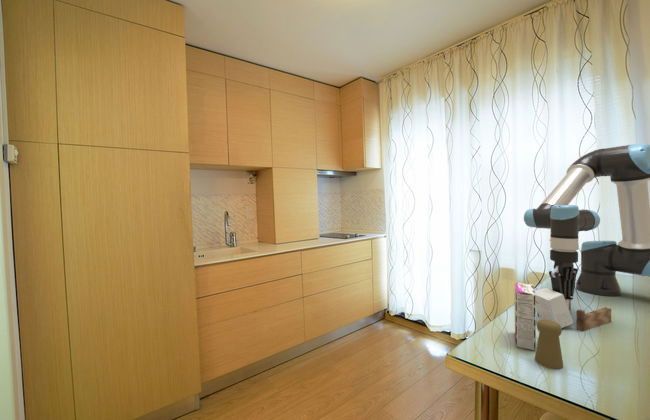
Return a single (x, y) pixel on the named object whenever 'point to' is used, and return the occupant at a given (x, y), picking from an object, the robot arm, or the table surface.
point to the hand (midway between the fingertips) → (563, 317)
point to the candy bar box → (525, 316)
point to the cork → (549, 345)
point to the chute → (591, 318)
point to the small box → (552, 307)
